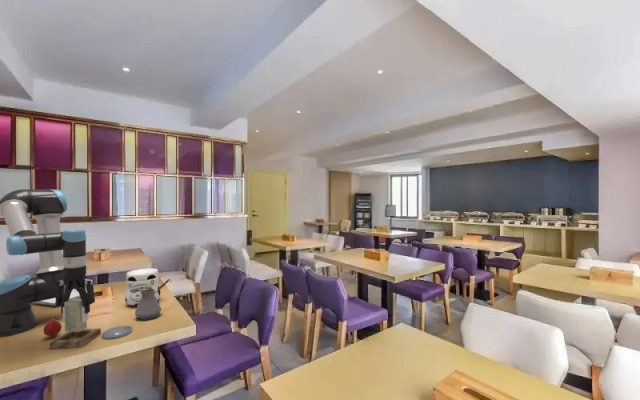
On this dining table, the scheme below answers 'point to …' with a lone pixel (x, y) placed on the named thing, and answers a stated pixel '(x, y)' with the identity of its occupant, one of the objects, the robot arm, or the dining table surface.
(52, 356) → the dining table surface
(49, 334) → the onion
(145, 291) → the coffee pot
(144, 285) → the milk container
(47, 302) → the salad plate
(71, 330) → the skincare box
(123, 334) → the coaster
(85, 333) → the pocket holder
